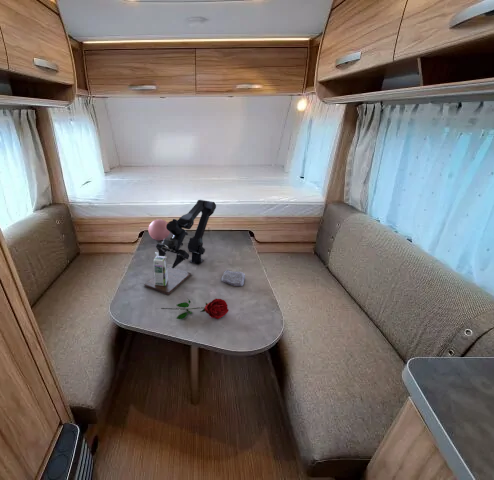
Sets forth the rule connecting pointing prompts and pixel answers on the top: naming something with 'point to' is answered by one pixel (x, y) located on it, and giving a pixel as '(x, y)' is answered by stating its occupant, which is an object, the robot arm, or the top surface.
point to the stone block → (233, 278)
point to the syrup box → (160, 270)
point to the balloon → (158, 229)
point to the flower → (206, 308)
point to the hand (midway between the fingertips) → (165, 265)
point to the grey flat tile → (169, 281)
